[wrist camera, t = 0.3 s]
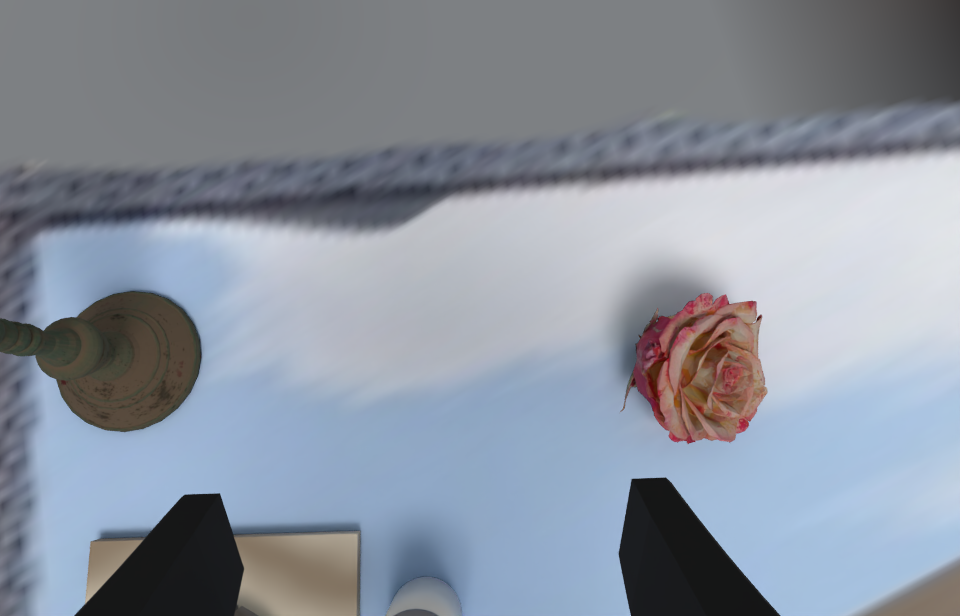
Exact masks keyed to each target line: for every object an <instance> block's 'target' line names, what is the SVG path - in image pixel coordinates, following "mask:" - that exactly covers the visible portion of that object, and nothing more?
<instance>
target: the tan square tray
mask: <svg viewBox="0 0 960 616" xmlns="http://www.w3.org/2000/svg"><path fill="white" fill-rule="evenodd" d="M145 538H146V537H138V538H105V539H98V540H95V541H91V544H90V555H89V566H88V577H87V589H86V600H85V604H86V603H87V602H88V600H89V599H90V598H91V597H92V596H93V595H94V594H95V593H96V592H97V591H98V590H99V589H100V588H101V586H102V585H103V584H104V583H105V582H106V581H107V580H108V579H109V578H110V577H111V576H112V575H113V573H114V572H115V571H116V570H117V569H118V568H119V567H120V566H121V565H122V564H123V562H124V561H125V560H126V559H127V558H128V557H129V556H130V555H131V553H132V552H133V551H134V550H135V549H136V548H137V547H138V546H139V544H140V543H141V542H142V541H143V540H144V539H145ZM234 539H235V542H236V545H237V548H238V551H239V554H240V557H241V560H242V563H243V566H244V573H243V577H242V582H241V587H240V592H239V596H238V601H237V605H236V610H235V614H234V616H360V531H336V532H303V533H270V534H237V535H234Z"/></svg>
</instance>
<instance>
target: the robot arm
mask: <svg viewBox="0 0 960 616" xmlns="http://www.w3.org/2000/svg"><path fill="white" fill-rule="evenodd" d="M619 558H620V564H621V569H622V574H623V579H624V585H625V589H626V594H627V599H628V604H629V609H630V613H631V616H780V615H779V614H778V613H777V611H776V610H775V609H774V608H773V607H772V606H771V605H770V604H769V602H768V601H767V600H766V599H765V598H764V597H763V596H762V595H761V593H760V592H759V591H758V590H757V589H756V588H755V586H754V585H753V584H752V583H751V582H750V581H749V579H748V578H747V577H746V576H745V575H744V574H743V572H742V571H741V570H740V569H739V568H738V567H737V565H736V564H735V563H734V562H733V561H732V560H731V558H730V557H729V556H728V555H727V554H726V552H725V551H724V550H723V549H722V547H721V546H720V545H719V544H718V542H717V541H716V540H715V539H714V537H713V536H712V535H711V534H710V532H709V531H708V530H707V529H706V527H705V526H704V525H703V524H702V522H701V521H700V520H699V519H698V517H697V516H696V515H695V513H694V512H693V511H692V509H691V508H690V507H689V506H688V504H687V503H686V502H685V500H684V499H683V498H682V496H681V495H680V494H679V492H678V491H677V490H676V488H675V487H674V486H673V484H672V483H671V482H670V481H669V480H668V479H667V478H642V479H632V481H631V486H630V492H629V498H628V504H627V509H626V515H625V521H624V526H623V532H622V538H621V544H620V549H619ZM243 573H244V566H243V563H242V560H241V557H240V554H239V551H238V548H237V545H236V542H235V539H234V535H233V532H232V529H231V526H230V523H229V520H228V517H227V514H226V511H225V508H224V505H223V502H222V498H221V495H220V493H219V494H191V495H184V496H183V497H182V498H181V499H180V500H179V501H178V502H177V503H176V504H175V505H174V506H173V507H172V508H171V509H170V511H169V512H168V513H167V514H166V515H165V516H164V517H163V518H162V520H161V521H160V522H159V523H158V524H157V525H156V526H155V528H154V529H153V530H152V531H151V532H150V533H149V534H148V535H147V537H146V538H145V539H144V540H143V541H142V542H141V543H140V544H139V546H138V547H137V548H136V549H135V550H134V551H133V552H132V553H131V555H130V556H129V557H128V558H127V559H126V560H125V561H124V562H123V564H122V565H121V566H120V567H119V568H118V569H117V570H116V571H115V572H114V573H113V575H112V576H111V577H110V578H109V579H108V580H107V581H106V582H105V583H104V584H103V585H102V586H101V588H100V589H99V590H98V591H97V592H96V593H95V594H94V595H93V596H92V597H91V598H90V599H89V600H88V602H87V603H86V604H85V605H84V606H83V607H82V608H81V609H80V610H79V611H78V612H77V613H76V614H75V616H234V614H235V610H236V605H237V601H238V596H239V592H240V587H241V582H242V577H243Z"/></svg>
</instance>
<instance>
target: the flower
mask: <svg viewBox="0 0 960 616" xmlns="http://www.w3.org/2000/svg"><path fill="white" fill-rule="evenodd" d="M704 297H705V298H704ZM712 298H713V296H712V295H710V294H709V293H704V294H701V295H700V296H699V297H697V298H696V300H695V301H690V302H688V303H687V305H686V306H685V307H684V308H683V310H682V311H680V312H678V313H677V314H676V315H673V316H669V317H664V316H661V317H659V318H658V322H656V320H657V317H658V308H657V311H656V312H655V314H654V316H653V317H652V320H651V321H649V322H650V323H649V324H648V325H646V327H645V330H644V332H643V335H642V337H641V336H640V335H639V337H640V340H639V342H638V343H637V344H636V353H637V361H636V364H635V367H634V370H633V373H632V375H631V377H630V380H629V383H628V385H627V390H626V396H625V402H626V398H627V396H628V393H629V390H630V388H631V387H637V388H638V391H639V392H640V393H641V394H642V395H643V396H644V397H645V398H646V399H647V400H648V401H649V402H650V404H651V406H652V410H653V411H654V416H655V418H656V419H657V421H658V422H659V424H660V425H661V426H662V427H663V428H664V429H666V430H669V431H670V434H669V438H670V439H671V440H672V441H674V440H675V441H674V442H677V443H678V442H679V441H687V443H688V444H689V443H692V442H695V440H702V439H703V438H705V439H708V440H711V441H713V440H716V439H718V440H720V441H727V442H729V443H730V442H732V441H733V440H735V437H736V434H737V433H741V432H743V431H745V430H746V429H747V427H748V426H749V423H748V421H751V419H752V418H753V417H754V415H755V414H756V412H757V407H758V406H759V404H760V403H761V401H762V400H763V398H764V397H765V395H766V394H767V388H766V387H764V385H765V378H764V374H763V371H762V367H761V362H760V359H758V334H759V327H760V323H761V319H762V315H760V316H759V317H758V318H757V321H756V323H753V322H754V321H755V320H756V316H757V311H756V301H747V302H740V303H733V304H729V302H728V299H727V296H726V295H722V296H721V297H719V298H717V299H716V300H715V302H714V303H713V305H712V301H713V300H712ZM696 301H697V302H696ZM685 310H686V311H685ZM625 402H624V407H623V409H622V410H624V408H625ZM622 410H621V411H622ZM621 411H620V412H621ZM620 412H619V413H620ZM747 420H748V421H747Z"/></svg>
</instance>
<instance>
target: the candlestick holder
mask: <svg viewBox="0 0 960 616" xmlns="http://www.w3.org/2000/svg"><path fill="white" fill-rule="evenodd" d="M0 352H3V353H6V354H13V355H16V356H32V355H36V360H37V363H38V365H39V367H40V368H41V370H42V371H43V372H44V373H46V374H47V375H48V376H50V377H52V378H54V379H56V381H57V384H58V387H59V390H60V393H61V396H62V398H63V399H64V401H65V402H66V404H67V405H68V406H69V408H70V409H71V411H72V412H73V413H75V414H76V415H77V416H78V417H80V418H81V419H82V420H84V421H85V422H86V423H88V424H91V425H94V426H96V427H99V428H101V429H104V430H109V431H120V432H127V431H133V430H139V429H144V428H146V427H149V426H151V425H153V424H155V423H158V422H160V421H162V420H163V419H165V418H166V417H167V416H168V415H170V414H171V413H172V412H174V411H175V410H176V409H177V408H178V407H179V406H180V405H181V404H182V402H183V401H184V400H185V399H186V397H187V396H188V395H189V393H190V392H191V390H192V387H193V385H194V383H195V381H196V379H197V376H198V372H199V366H200V361H201V352H200V340H199V337H198V335H197V332H196V329H195V327H194V324H193V323H192V321H191V320H190V319H189V317H188V316H187V315H186V313H185V312H184V311H183V309H181V308H180V307H179V306H177V305H176V304H175V303H173V302H172V301H170V300H169V299H167V298H164V297H161V296H159V295H156V294H153V293H146V292H135V291H130V292H124V293H118V294H113V295H110V296H108V297H106V298H103V299H101V300H99V301H96V302H95V303H93V304H92V305H91V306H89V307H88V308H87V309H85V310H84V311H83V312H81V313H80V314H79V315H78V317H77V318H74V317H70V318H64V319H60V320H58V321H55V322H53V323H52V324H51V325H49V326H48V327H47V328H46V329H45V330H44V331H43V330H41V329H40V328H37V327H35V326H33V325H31V324H22V323H19V322H12V321H8V320H6V319H0Z"/></svg>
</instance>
